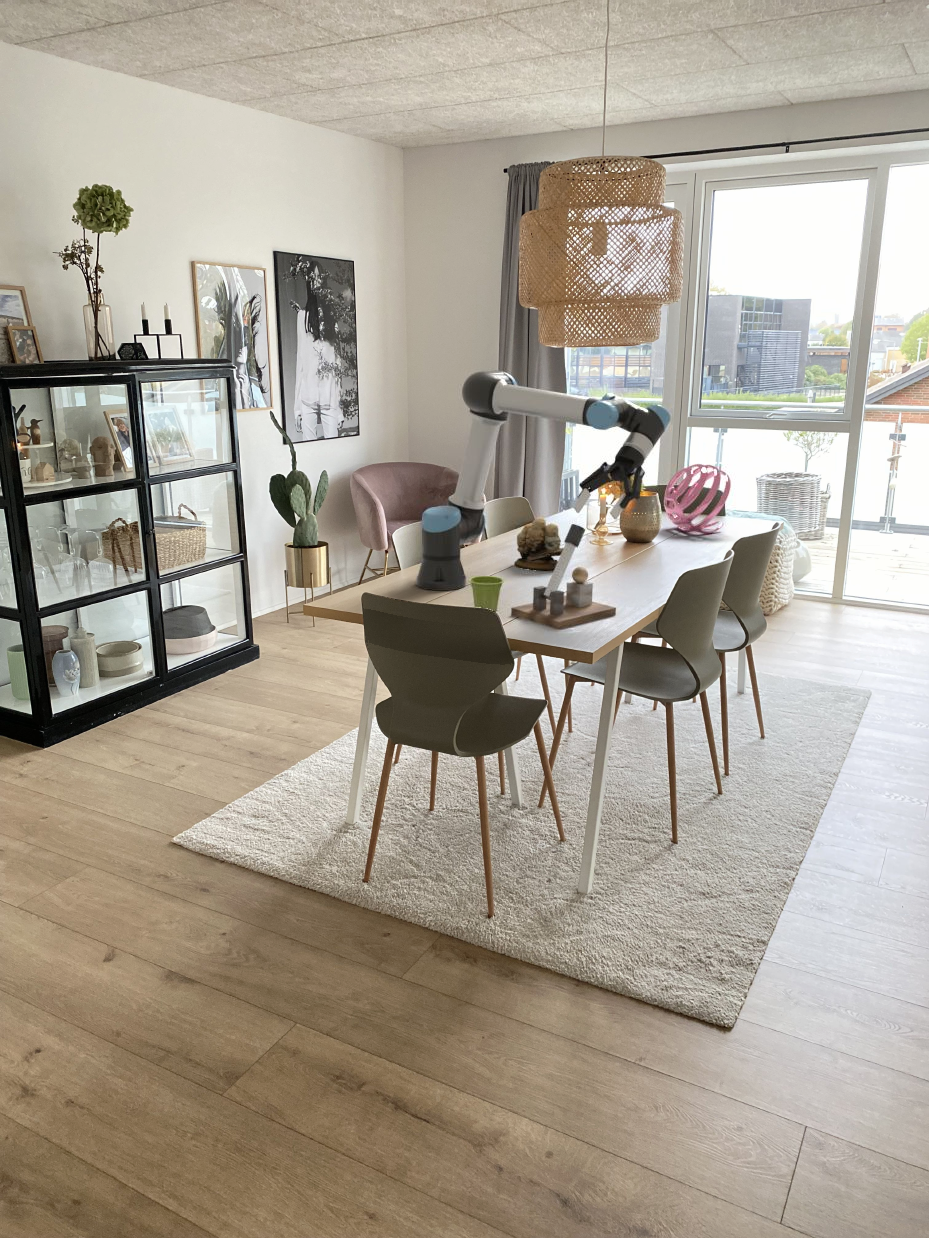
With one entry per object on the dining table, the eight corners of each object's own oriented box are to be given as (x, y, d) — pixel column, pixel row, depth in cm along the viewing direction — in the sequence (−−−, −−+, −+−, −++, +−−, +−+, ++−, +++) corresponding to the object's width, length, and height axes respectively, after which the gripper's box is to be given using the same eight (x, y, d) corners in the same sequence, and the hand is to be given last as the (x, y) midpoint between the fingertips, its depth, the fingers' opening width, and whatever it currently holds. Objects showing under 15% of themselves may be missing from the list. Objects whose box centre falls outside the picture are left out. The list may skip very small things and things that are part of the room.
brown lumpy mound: (571, 567, 314) (573, 516, 310) (556, 574, 305) (558, 522, 300) (523, 561, 323) (524, 511, 318) (507, 567, 313) (507, 516, 309)
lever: (537, 595, 251) (568, 523, 253) (546, 600, 254) (577, 529, 256) (548, 597, 248) (579, 525, 250) (557, 603, 251) (588, 531, 253)
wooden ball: (568, 582, 258) (568, 566, 257) (579, 580, 261) (579, 564, 260) (580, 585, 255) (580, 569, 254) (591, 583, 258) (591, 567, 256)
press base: (511, 614, 256) (511, 586, 254) (567, 601, 270) (568, 574, 268) (558, 629, 243) (559, 599, 241) (615, 614, 256) (617, 586, 254)
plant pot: (502, 605, 265) (502, 575, 263) (504, 614, 256) (504, 583, 254) (468, 605, 265) (468, 575, 263) (469, 614, 256) (470, 583, 254)
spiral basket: (738, 478, 386) (689, 441, 377) (760, 504, 362) (709, 466, 353) (691, 529, 397) (643, 495, 387) (710, 558, 372) (660, 522, 363)
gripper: (675, 466, 254) (635, 528, 248) (605, 458, 272) (567, 515, 267) (663, 447, 249) (623, 510, 244) (593, 441, 267) (554, 498, 262)
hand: (593, 513), depth 255 cm, fingers open, 13 cm apart
